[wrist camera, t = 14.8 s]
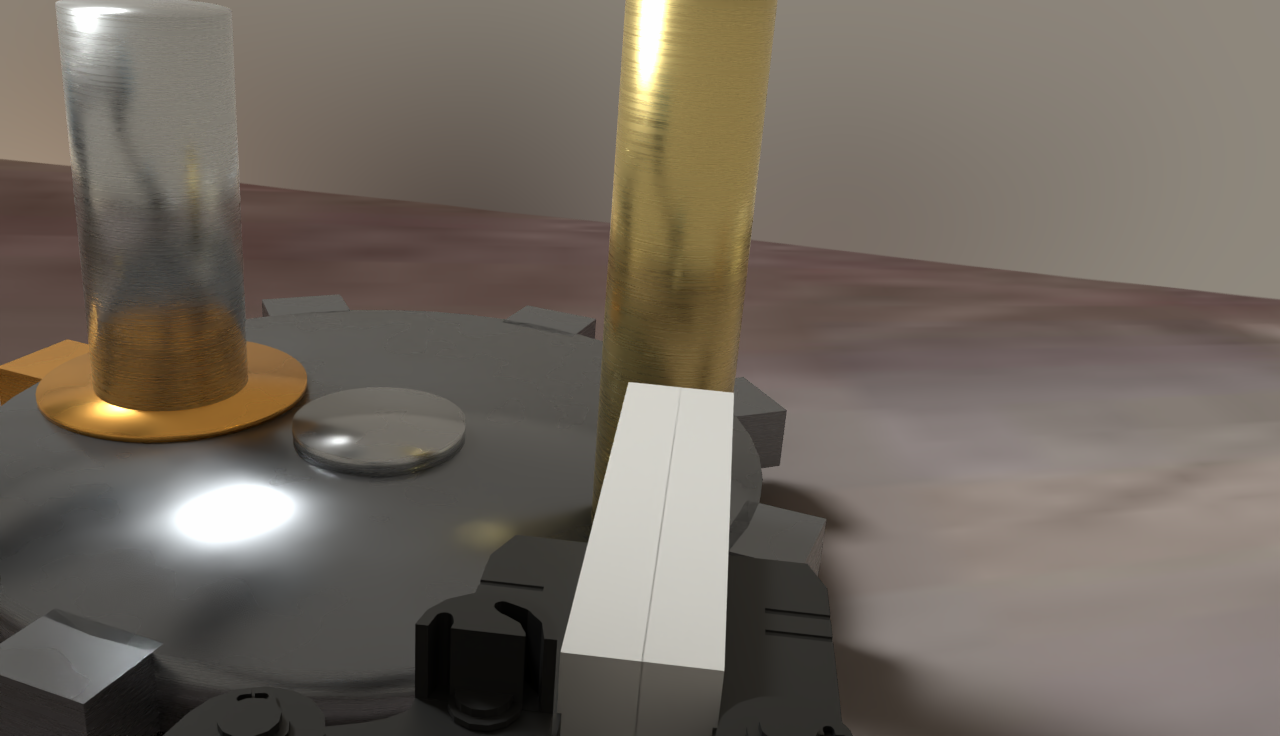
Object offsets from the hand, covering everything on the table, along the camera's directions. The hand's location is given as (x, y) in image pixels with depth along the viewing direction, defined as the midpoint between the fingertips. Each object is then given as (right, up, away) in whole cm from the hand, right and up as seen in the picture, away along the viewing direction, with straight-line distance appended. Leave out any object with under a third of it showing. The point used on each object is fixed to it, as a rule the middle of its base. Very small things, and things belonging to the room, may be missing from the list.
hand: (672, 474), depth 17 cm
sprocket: (-7, -2, +15) cm, 17 cm away
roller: (-13, +1, +16) cm, 21 cm away
